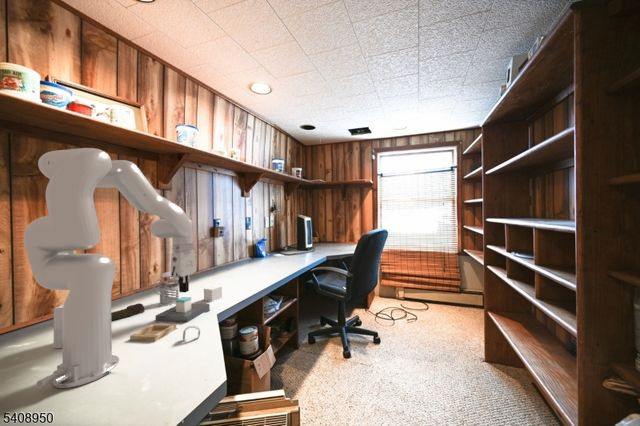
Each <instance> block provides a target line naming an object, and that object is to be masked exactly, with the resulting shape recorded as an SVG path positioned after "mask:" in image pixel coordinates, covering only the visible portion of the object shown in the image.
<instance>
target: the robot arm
mask: <svg viewBox="0 0 640 426" xmlns="http://www.w3.org/2000/svg"><path fill="white" fill-rule="evenodd" d="M37 164H38V166H37V167H38V169H39V171H40V172H41V173H42V174H43V175H44V177H46V178H48V179H49V181H48V183H47V186H46V189H45V202H46V207H47V213H48V215H46V216H41V217H38V218H36V219H33V221H31V222H30V223H29V224H28V225H27V226H26V229H25V231H24V232H23V233H24V234H23V245H24V247H25V252H26V256H27V258H28V262H29V263H28V264H29V266H30V269H31V272H32V275H33V277H34V280H35V282H36V283H37V284H38V285H40V287H42V288H44V289H47V290H53V291H54V290H55V291H61V290H62V291H68V294H67V296H66V298H65V299H64V303H63V304H62V305H63V309H62V348H61V350H62V351H61V353H62V354H61V357H62V358H61V359H62V361H61V363H60V364H57V366H56V370H54V371H53V373H51V374H49V375H46V376H45V377H43V378H41V379H38V380H37V381H36V388H37V389H39V390H41V389H43V388H45V387H47V386H49V385H50V384H53V386H54V387H55V388H58V389H68V388H69V389H70V388H75V387H80V386H82V385H85V384H89V383H92V382H94V381H96V380H98V379H101V378H102V377H103V378H104V377H105V376H106V375H108V374H109V373H110V374H111V370H113V369H114V368H115V367H116V366H117V365H118V364H119V363H120V358H119V356H117V355H114V354H113V352H112V351H113V343H112V342H113V341H112V339H113V338H112V337H113V336H112V333H113V331H112V328H113V327H112V321H111V313H112V290H113V284H114V280H115V276H116V264H115V262H114V261H113V259H112V258H111V257H109V256H107V255H104V254H101V253H75V252H77V251H84V250H89V249H92V248H94V247H96V246H97V245H98V243H99V242H100V240H101V229H100V228H101V227H100V225H99V220H98V215H97V211H96V207H95V202H94V201H95V200H94V194H95V193H94V192H95V190H96V188H98V189H105V188H109V189H110V188H116V189H117V191H119V192H120V193H121V195H122V196H123V197H124V198H125V199H126V200H127V202H128V203H129V204H130V205H131V206H132V207H133V209H136V210H137V211H140V212H143V213H145V214H146V213H147V214H150V215H153V216H157V217H159V218H161V219H157V220H155V221H154V222H152V224H151V225H150V233H151V234H152V236H154V237H156V238H157V239H170V238H171V239H172V241H171V242H172V244H171V245H172V252H171V257H170V258H171V259H170V272H171V276H172V277H171V278H172V281H177V282H178V283H177V284H178V285H179V293H187V292H189V291H190V288H189V286H190V285H189V282H190V280H191V277H192V275H194V274H195V273H196V272H197V258H196V254H195V253H196V252H195V250H194V246H193V245H194V240H193V239H194V238H193V237H194V236H193V221H192V219H191V218H189V217H188V214H186V212H185V211H184V210H183V209H182V208H181V207H180V206H179V205H177V204H176V203H174V202H172V201H171V200H169V199H167V198H165V197H163V196H162V195H160V194H159V193H158V192H157V191H156V189H155V187H153V185H152V184H151V183H150V181H149V180H148V179H147V178H146V176H145V175H144V174H143V172H142V171H141V169H140V168H139V167H138V165H136V164H135V163H134V162H133V161H129V160H126V159H117V160H115V159H114V160H112V159H111V157H110V155H109V154H108V152H106V151H104V150H102V149H100V148H94V147H82V148H81V147H80V148H70V149H60V150H53V151H48V152H46V153H44V154H42V155H41V156H40V157H39V159H38V161H37Z"/></svg>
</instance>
